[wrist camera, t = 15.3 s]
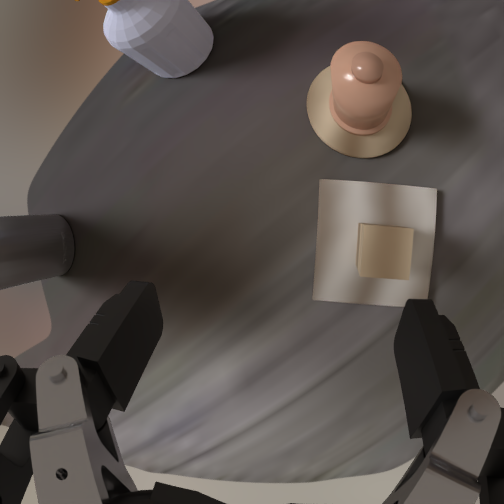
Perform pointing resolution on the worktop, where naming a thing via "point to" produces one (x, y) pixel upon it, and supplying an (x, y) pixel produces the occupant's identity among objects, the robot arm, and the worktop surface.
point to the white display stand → (374, 242)
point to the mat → (349, 142)
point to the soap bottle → (159, 34)
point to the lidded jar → (363, 87)
